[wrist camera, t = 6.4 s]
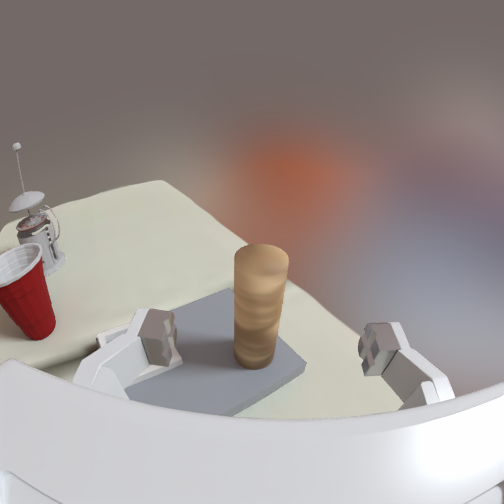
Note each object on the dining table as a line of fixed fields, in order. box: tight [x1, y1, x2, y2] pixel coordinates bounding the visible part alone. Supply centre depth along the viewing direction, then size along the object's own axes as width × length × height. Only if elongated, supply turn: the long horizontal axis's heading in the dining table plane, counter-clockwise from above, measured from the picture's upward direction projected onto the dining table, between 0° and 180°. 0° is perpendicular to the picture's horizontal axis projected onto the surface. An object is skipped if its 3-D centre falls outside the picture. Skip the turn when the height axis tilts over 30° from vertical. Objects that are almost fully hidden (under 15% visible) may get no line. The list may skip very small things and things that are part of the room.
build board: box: [96, 288, 307, 417], centre depth 30 cm, size 20×16×3 cm
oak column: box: [234, 244, 289, 370], centre depth 27 cm, size 4×4×13 cm
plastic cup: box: [0, 243, 56, 340], centre depth 29 cm, size 11×11×12 cm
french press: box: [9, 143, 65, 276], centre depth 38 cm, size 10×12×25 cm
